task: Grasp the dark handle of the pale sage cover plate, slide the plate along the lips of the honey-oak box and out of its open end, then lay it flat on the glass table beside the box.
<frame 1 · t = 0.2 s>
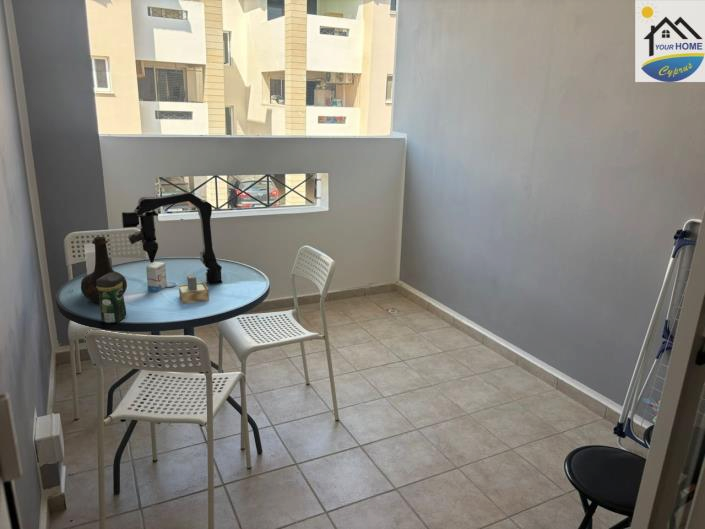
hand: (151, 259, 233), 14 cm above the table, fingers open, 9 cm apart
cover plate: (192, 290, 227), point 4 cm above the table, touching oak box
ink box: (157, 289, 239), on the table
coffee jar: (114, 319, 204), on the table
oak box: (194, 298, 228), on the table
milk: (97, 290, 235), on the table
glass bottle: (106, 300, 224), on the table
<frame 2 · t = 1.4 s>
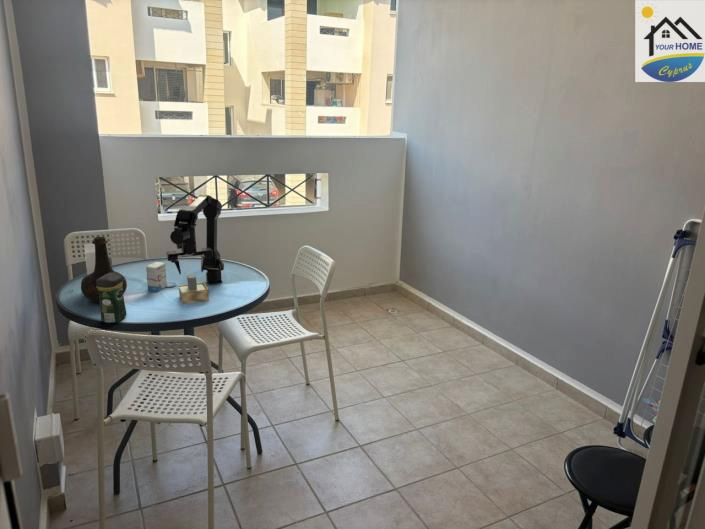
hand: (191, 273, 224), 12 cm above the table, fingers open, 9 cm apart
nothing on the table moved.
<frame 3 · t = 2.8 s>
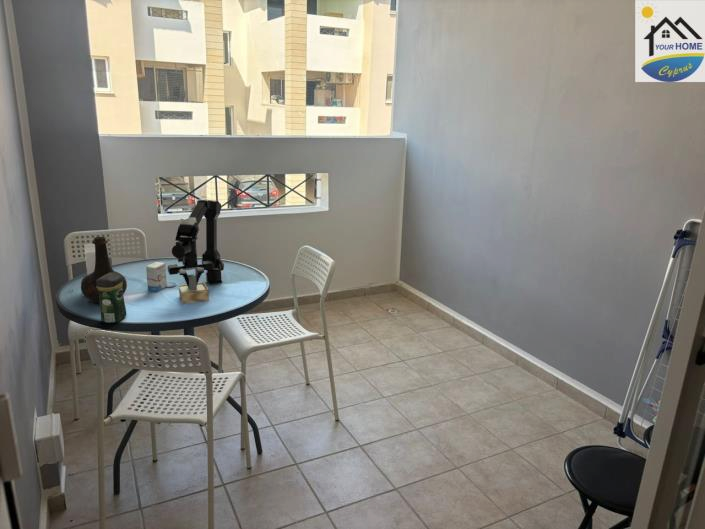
hand: (192, 286, 226), 6 cm above the table, fingers closed on cover plate, 3 cm apart
cover plate: (192, 290, 227), point 4 cm above the table, touching gripper, oak box
everything else where it was.
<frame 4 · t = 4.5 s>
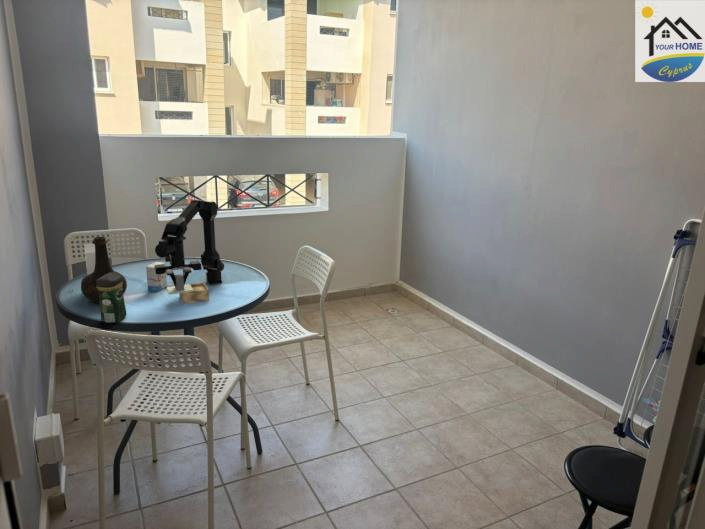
hand: (179, 286, 223), 7 cm above the table, fingers closed on cover plate, 3 cm apart
cover plate: (179, 290, 224), point 5 cm above the table, touching gripper
everything else where it was.
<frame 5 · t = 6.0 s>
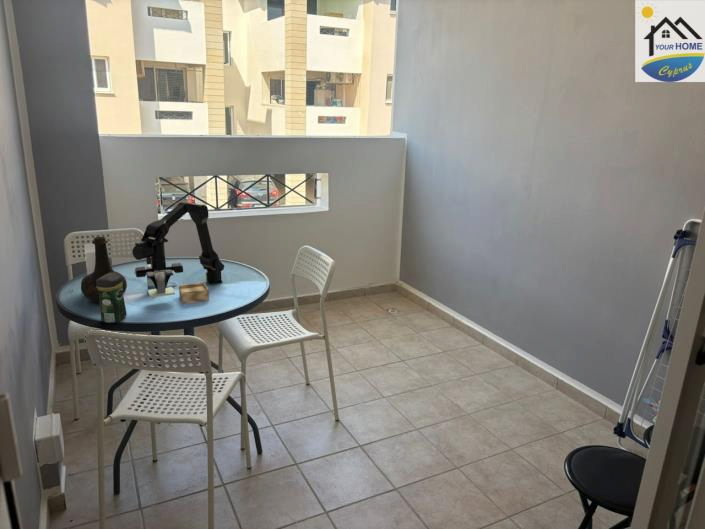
hand: (161, 289, 220), 6 cm above the table, fingers closed on cover plate, 3 cm apart
cover plate: (161, 293, 221), point 4 cm above the table, touching gripper
everything else where it was.
when the fingers open (3 cm above the table, at t = 6.7 s): cover plate drops 2 cm, on the table.
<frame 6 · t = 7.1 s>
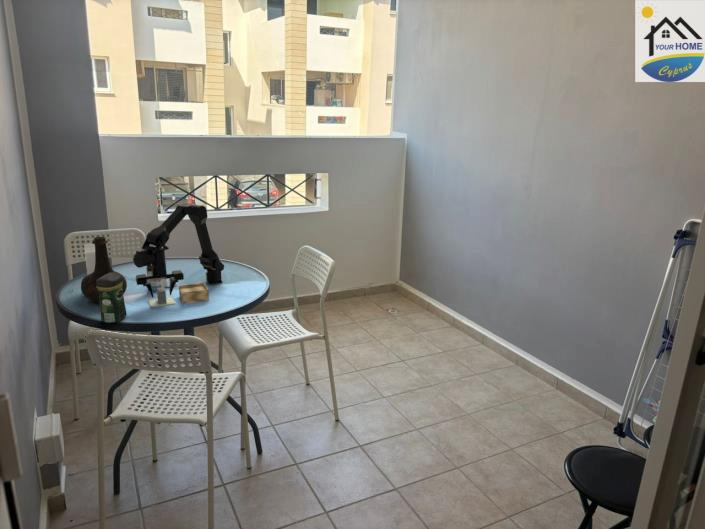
hand: (161, 296, 221), 3 cm above the table, fingers open, 7 cm apart
cover plate: (162, 303, 222), on the table
everything else where it was.
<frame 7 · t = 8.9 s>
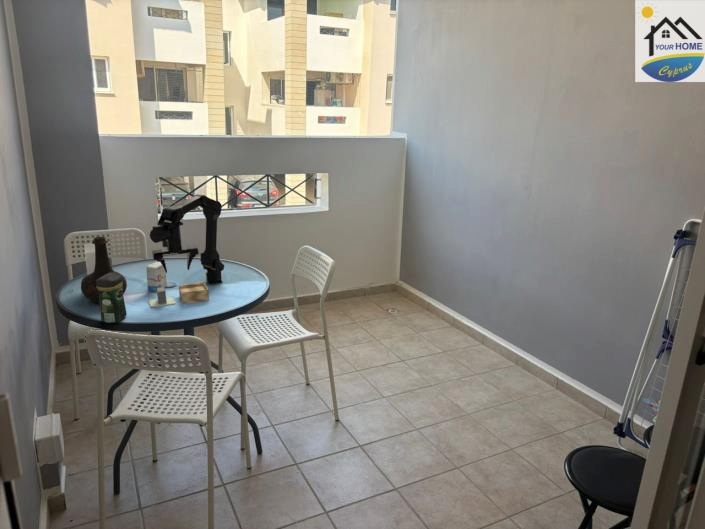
hand: (177, 271, 226), 12 cm above the table, fingers open, 9 cm apart
nothing on the table moved.
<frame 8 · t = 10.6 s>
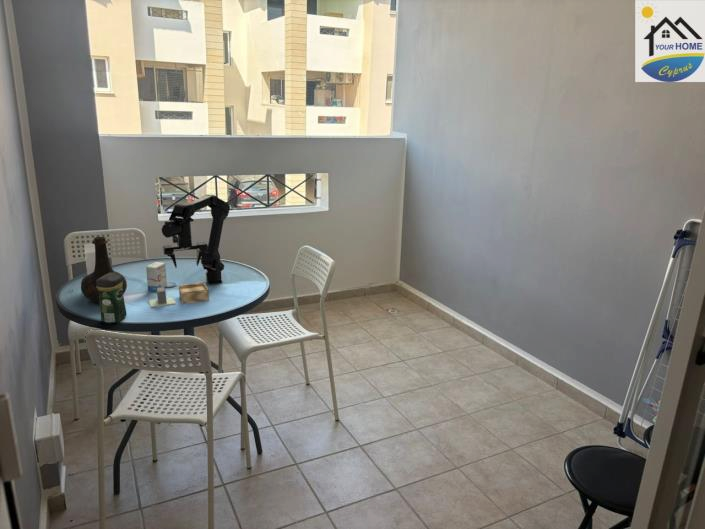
hand: (186, 266, 231), 13 cm above the table, fingers open, 9 cm apart
nothing on the table moved.
at the end: cover plate inside the target area (0.0 cm from its centre), on the table; cover plate tilted 0°; the gripper is holding nothing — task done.
